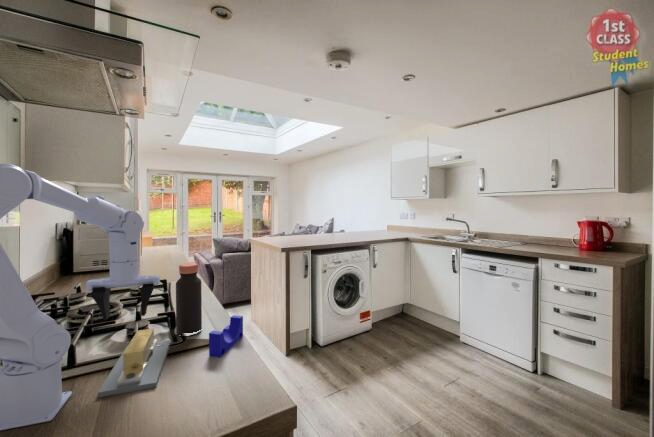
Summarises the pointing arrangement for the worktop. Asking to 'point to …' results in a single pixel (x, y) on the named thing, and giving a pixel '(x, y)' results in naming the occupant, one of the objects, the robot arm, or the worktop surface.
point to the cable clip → (225, 337)
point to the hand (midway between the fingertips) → (125, 316)
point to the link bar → (138, 350)
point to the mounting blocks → (134, 373)
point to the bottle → (188, 300)
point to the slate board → (149, 378)
